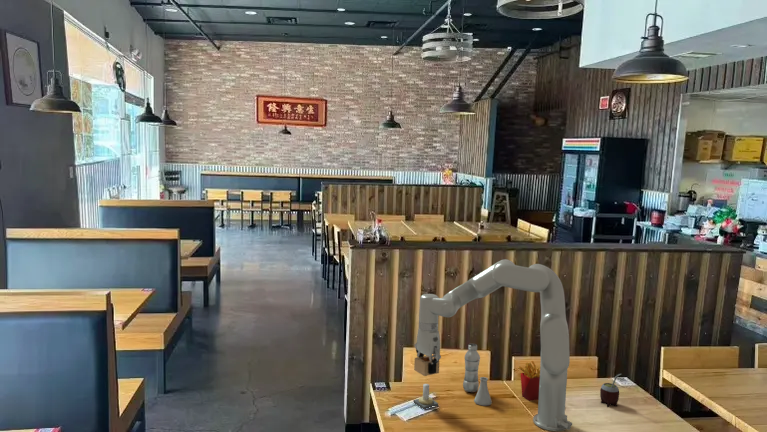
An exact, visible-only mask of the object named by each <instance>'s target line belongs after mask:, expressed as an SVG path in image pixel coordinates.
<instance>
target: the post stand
mask: <svg viewBox="0 0 767 432" xmlns="http://www.w3.org/2000/svg"><path fill="white" fill-rule="evenodd" d="M422 387H423V388H422V396H420V397H419V398H416V399H413V400H412V401H413V402H414V403H415V404H414V403H413V404H414V405H416V404H417V405H418V406H417V405H416V406H417V407H419V406H420V407H421V408H420V407H419V408H420V409H422V408H423V409H425V410H427V409H426V408H429V407H432V406H437V407H439V403H438V402H437V401H435V400H434V399H433V397H431V396H430V384H429V383H423V385H422ZM423 409H422V410H423ZM429 409H430V408H429Z"/></svg>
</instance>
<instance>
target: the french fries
mask: <svg viewBox="0 0 767 432" xmlns="http://www.w3.org/2000/svg"><path fill="white" fill-rule="evenodd" d="M517 368H518V369H519V370H520V371H521V373H520V385H521V397H522V398H523V397H524V398H523V399H525V400H527V401H529V402H532V401H539V382H540V367H539V368H538V367H536V364H535V362H534V361H533V360H531V362H526V363H525V365H524V368H523V367H521V366H518V367H517Z"/></svg>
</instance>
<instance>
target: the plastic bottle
mask: <svg viewBox="0 0 767 432" xmlns="http://www.w3.org/2000/svg"><path fill="white" fill-rule="evenodd" d="M467 346H468V347H467V352H465V355H464V378H463V381H462V382H463V383H462V386H463V390H464V391H465V392H466V393H467V392H468V393H475V392H478V390H479V387H480V382H479V365H480V360H481V355H480V353H479V352H478V351H477V350H478V344H476V343H469V344H468V345H467Z"/></svg>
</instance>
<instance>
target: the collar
mask: <svg viewBox="0 0 767 432" xmlns="http://www.w3.org/2000/svg"><path fill="white" fill-rule="evenodd" d="M433 359H434V357H432V360H433ZM429 364H430V360H429V357H428V356H426V355H424V356H422V357H417V356H416V357H414V364H413V365H414V372H417V373H418V374H420V375H422V376H424V377H427V376H432V375H437V374H439V373H440V360H439V361H438V363H437V365H436V373H433V374H429Z"/></svg>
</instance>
